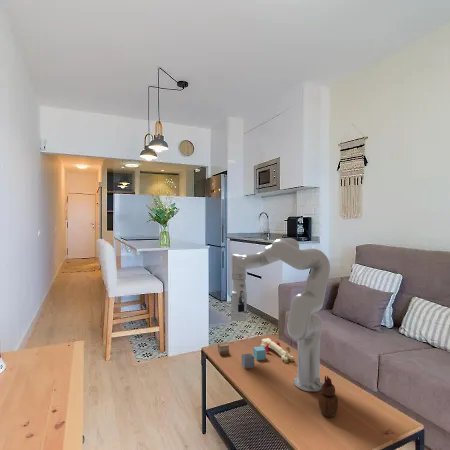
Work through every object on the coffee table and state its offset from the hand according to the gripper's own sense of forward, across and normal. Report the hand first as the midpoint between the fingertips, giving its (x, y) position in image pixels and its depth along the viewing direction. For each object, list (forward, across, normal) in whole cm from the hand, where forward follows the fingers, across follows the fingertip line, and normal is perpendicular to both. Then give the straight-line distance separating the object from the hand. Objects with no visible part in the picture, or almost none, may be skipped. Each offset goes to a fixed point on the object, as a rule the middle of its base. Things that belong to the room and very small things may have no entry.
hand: (238, 309), depth 165 cm
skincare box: (+6, 0, 0) cm, 6 cm away
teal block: (+25, -5, -10) cm, 28 cm away
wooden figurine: (+26, -57, -17) cm, 65 cm away
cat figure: (+26, -1, -20) cm, 33 cm away
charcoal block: (+25, -12, -1) cm, 28 cm away
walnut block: (+25, +6, +7) cm, 27 cm away
